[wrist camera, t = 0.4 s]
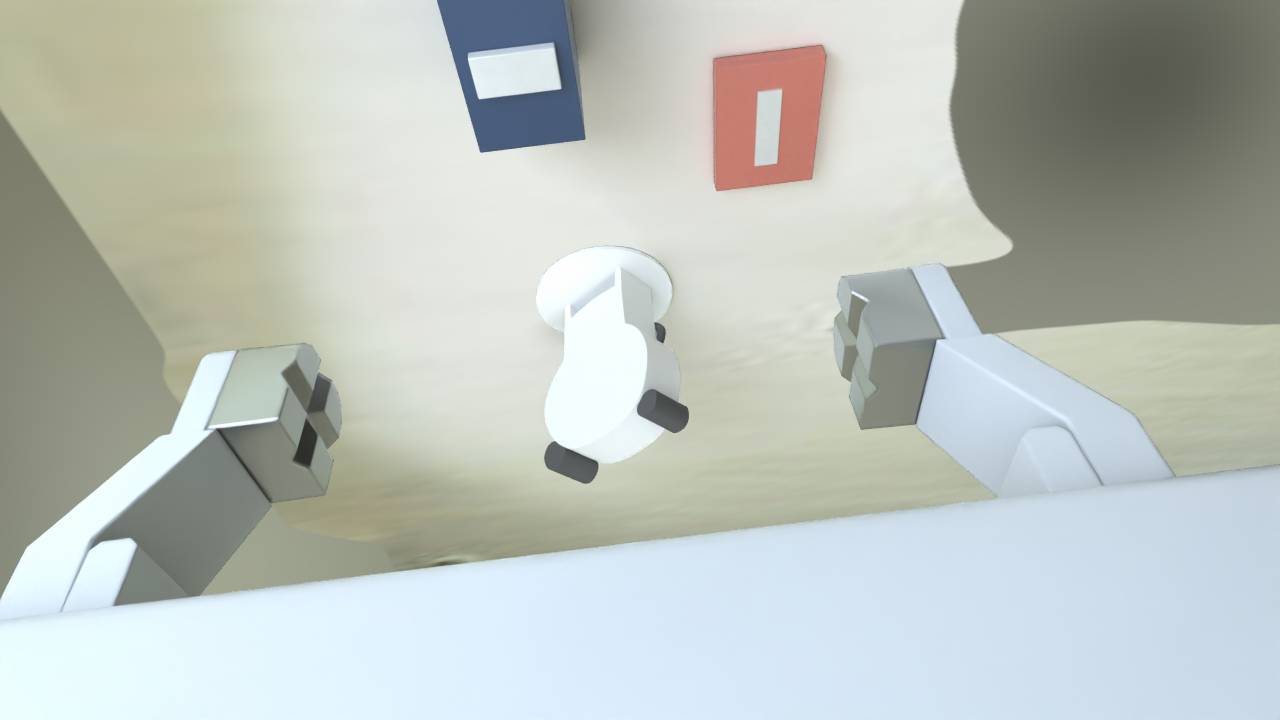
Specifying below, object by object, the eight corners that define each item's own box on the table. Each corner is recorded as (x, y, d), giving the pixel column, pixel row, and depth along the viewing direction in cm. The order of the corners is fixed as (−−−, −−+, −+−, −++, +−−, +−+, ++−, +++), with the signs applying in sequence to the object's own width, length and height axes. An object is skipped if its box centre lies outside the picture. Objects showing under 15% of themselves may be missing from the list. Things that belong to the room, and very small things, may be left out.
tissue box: (440, -96, 43) (430, -13, 38) (552, -110, 43) (558, -29, 38) (482, 72, 51) (480, 159, 46) (578, 60, 51) (586, 146, 46)
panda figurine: (600, 358, 75) (612, 504, 66) (502, 304, 68) (501, 459, 59) (699, 290, 69) (728, 440, 60) (603, 223, 62) (620, 382, 53)
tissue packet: (713, 58, 52) (716, 70, 51) (822, 44, 52) (827, 56, 51) (713, 180, 60) (716, 193, 59) (808, 169, 60) (812, 181, 59)
